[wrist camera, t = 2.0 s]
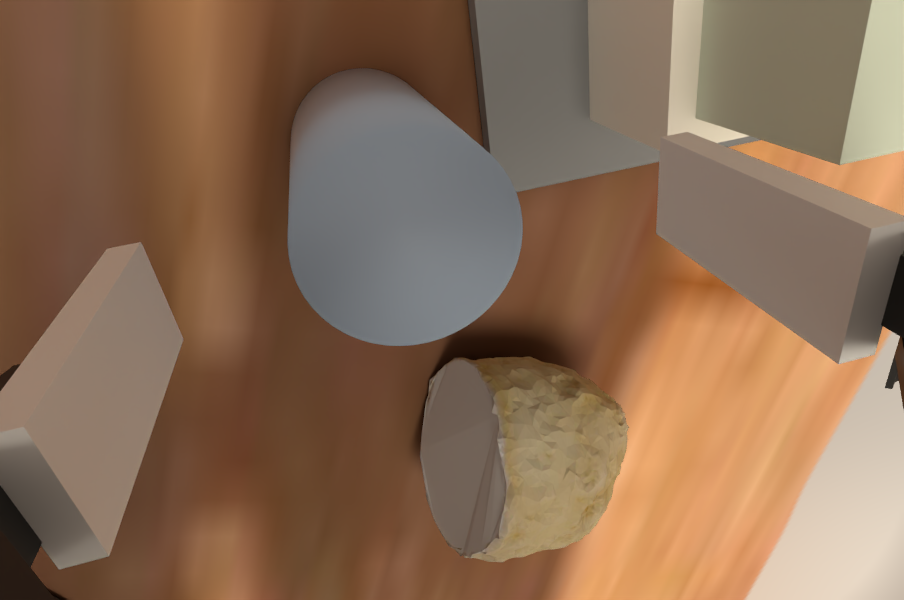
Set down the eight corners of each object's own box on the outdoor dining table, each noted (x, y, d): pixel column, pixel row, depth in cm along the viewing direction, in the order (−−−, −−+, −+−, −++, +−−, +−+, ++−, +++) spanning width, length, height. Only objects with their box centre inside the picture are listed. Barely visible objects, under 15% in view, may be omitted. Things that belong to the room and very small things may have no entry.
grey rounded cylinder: (311, 227, 25) (321, 368, 16) (272, 82, 22) (255, 151, 13) (445, 198, 26) (530, 317, 17) (424, 56, 23) (512, 102, 14)
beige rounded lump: (421, 378, 22) (677, 469, 22) (457, 302, 32) (634, 364, 31) (358, 572, 25) (582, 655, 24) (408, 448, 35) (570, 506, 34)
